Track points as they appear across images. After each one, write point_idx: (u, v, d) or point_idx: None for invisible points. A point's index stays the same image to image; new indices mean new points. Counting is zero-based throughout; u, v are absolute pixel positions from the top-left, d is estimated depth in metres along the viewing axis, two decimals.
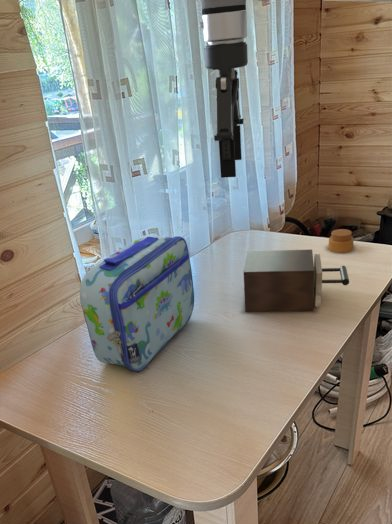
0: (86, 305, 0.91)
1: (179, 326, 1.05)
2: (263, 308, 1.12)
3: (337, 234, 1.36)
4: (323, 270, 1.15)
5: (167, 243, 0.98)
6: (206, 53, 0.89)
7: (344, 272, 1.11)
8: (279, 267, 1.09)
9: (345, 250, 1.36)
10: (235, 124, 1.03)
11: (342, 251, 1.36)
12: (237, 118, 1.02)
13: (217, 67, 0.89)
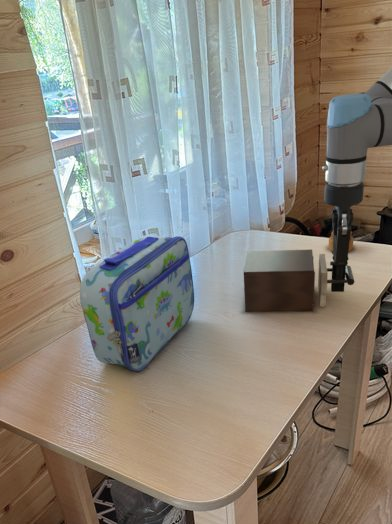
0: (86, 305, 0.91)
1: (179, 326, 1.05)
2: (263, 308, 1.12)
3: None
4: (328, 270, 1.14)
5: (167, 243, 0.98)
6: (328, 192, 1.01)
7: (349, 272, 1.11)
8: (279, 267, 1.09)
9: None
10: None
11: None
12: None
13: (338, 205, 1.00)
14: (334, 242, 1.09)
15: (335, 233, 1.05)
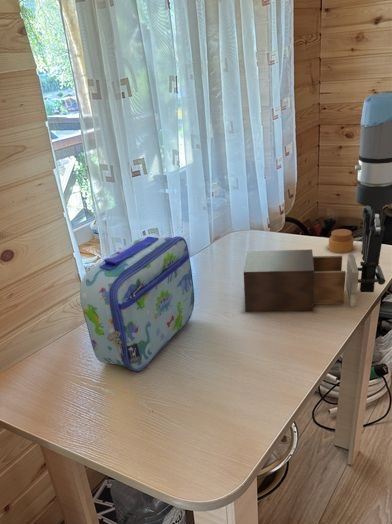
0: (86, 305, 0.91)
1: (179, 326, 1.05)
2: (263, 308, 1.12)
3: (337, 234, 1.36)
4: None
5: (167, 243, 0.98)
6: (360, 192, 1.00)
7: (379, 271, 1.10)
8: (279, 267, 1.09)
9: (345, 250, 1.36)
10: None
11: (342, 251, 1.36)
12: None
13: (371, 205, 0.99)
14: (364, 242, 1.08)
15: (366, 233, 1.04)
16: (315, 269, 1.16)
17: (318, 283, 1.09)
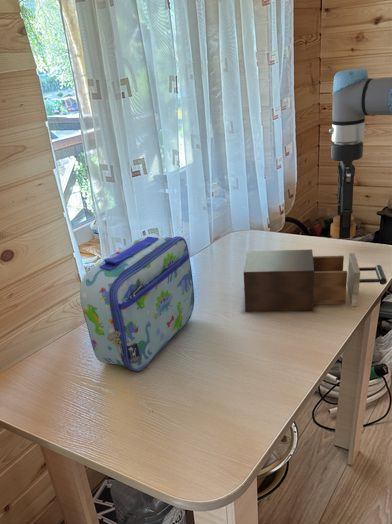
0: (86, 305, 0.91)
1: (179, 326, 1.05)
2: (263, 308, 1.12)
3: (339, 219, 1.33)
4: (358, 269, 1.13)
5: (167, 243, 0.98)
6: (334, 150, 1.24)
7: (380, 271, 1.10)
8: (279, 267, 1.09)
9: None
10: None
11: None
12: None
13: (342, 160, 1.24)
14: (339, 191, 1.34)
15: (341, 184, 1.27)
16: (316, 269, 1.16)
17: (320, 283, 1.09)
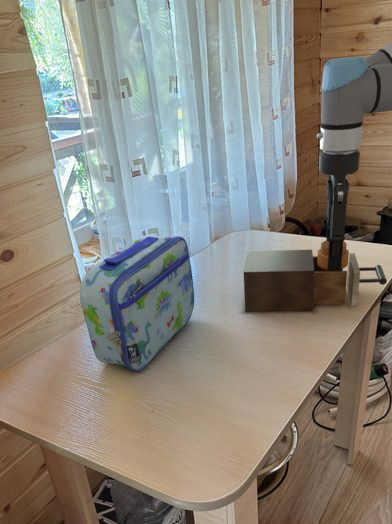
0: (86, 305, 0.91)
1: (179, 326, 1.05)
2: (263, 308, 1.12)
3: (328, 246, 1.07)
4: (358, 269, 1.13)
5: (167, 243, 0.98)
6: (322, 160, 0.98)
7: (380, 271, 1.10)
8: (279, 267, 1.09)
9: None
10: None
11: None
12: None
13: (333, 174, 0.97)
14: (329, 210, 1.07)
15: (331, 204, 1.01)
16: (316, 269, 1.16)
17: (319, 283, 1.09)
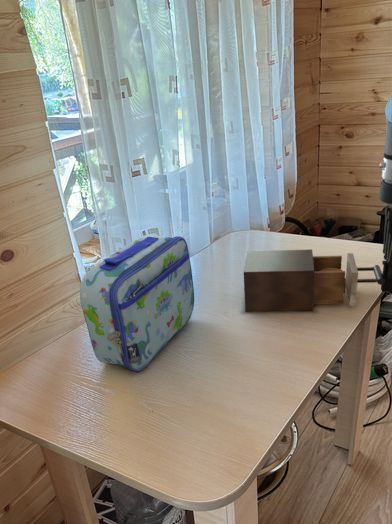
0: (86, 305, 0.91)
1: (179, 326, 1.05)
2: (263, 308, 1.12)
3: None
4: (356, 269, 1.13)
5: (167, 243, 0.98)
6: (385, 190, 0.99)
7: (378, 271, 1.10)
8: (279, 267, 1.09)
9: None
10: None
11: None
12: None
13: None
14: (387, 241, 1.07)
15: (390, 232, 1.03)
16: (315, 269, 1.16)
17: (317, 283, 1.09)
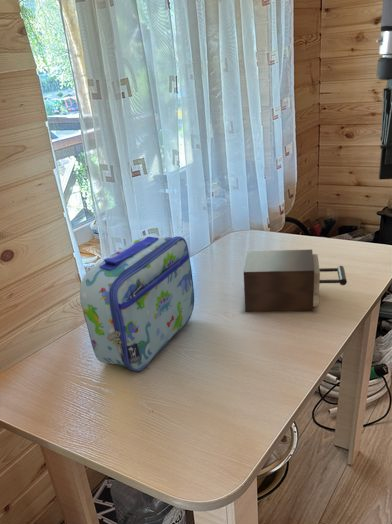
0: (86, 305, 0.91)
1: (179, 326, 1.05)
2: (263, 308, 1.12)
3: None
4: (321, 270, 1.15)
5: (167, 243, 0.98)
6: (382, 65, 1.00)
7: (341, 272, 1.11)
8: (279, 267, 1.09)
9: None
10: None
11: None
12: None
13: None
14: (384, 124, 1.08)
15: (387, 111, 1.04)
16: None
17: None
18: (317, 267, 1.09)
